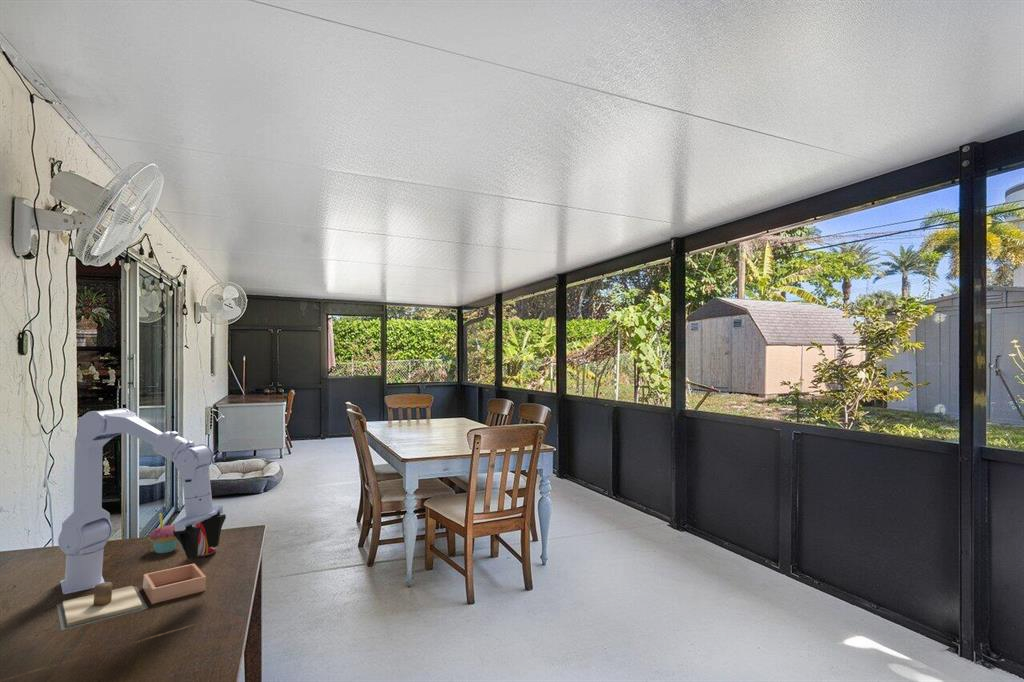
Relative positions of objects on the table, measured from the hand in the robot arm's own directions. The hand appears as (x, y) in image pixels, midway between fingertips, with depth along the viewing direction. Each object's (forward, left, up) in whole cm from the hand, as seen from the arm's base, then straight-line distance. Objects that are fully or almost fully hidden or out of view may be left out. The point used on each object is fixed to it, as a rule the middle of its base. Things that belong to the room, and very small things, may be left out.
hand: (203, 551), depth 126 cm
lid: (-7, -18, -10) cm, 22 cm away
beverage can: (-29, +8, -11) cm, 32 cm away
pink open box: (-7, -4, -11) cm, 14 cm away
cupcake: (-39, 0, -11) cm, 41 cm away
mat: (-7, -18, -11) cm, 22 cm away
